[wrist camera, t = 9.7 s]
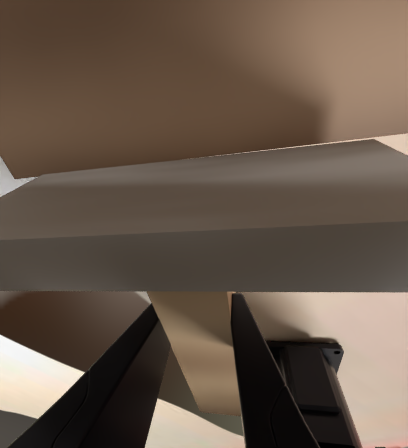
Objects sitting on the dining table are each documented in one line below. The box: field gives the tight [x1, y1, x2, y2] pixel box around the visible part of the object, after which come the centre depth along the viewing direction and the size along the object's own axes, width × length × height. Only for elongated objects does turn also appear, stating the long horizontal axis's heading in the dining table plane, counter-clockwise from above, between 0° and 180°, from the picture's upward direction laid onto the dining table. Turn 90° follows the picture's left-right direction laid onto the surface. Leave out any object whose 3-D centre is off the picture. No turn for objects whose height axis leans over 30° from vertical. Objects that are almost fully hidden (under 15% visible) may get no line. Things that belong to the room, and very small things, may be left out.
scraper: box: [0, 139, 408, 416], centre depth 9 cm, size 14×11×4 cm
